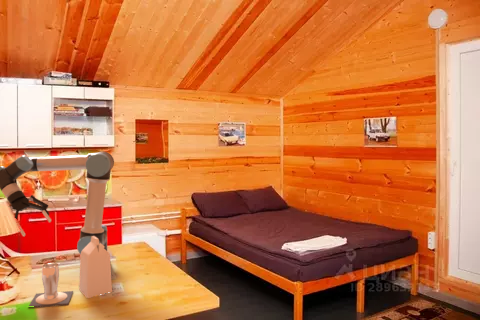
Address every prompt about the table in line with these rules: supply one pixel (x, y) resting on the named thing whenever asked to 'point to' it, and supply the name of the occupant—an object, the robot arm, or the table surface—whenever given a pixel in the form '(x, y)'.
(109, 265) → the milk
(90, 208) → the robot arm
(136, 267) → the table surface
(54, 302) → the mat
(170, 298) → the table surface
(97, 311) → the table surface
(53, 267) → the beer glass
